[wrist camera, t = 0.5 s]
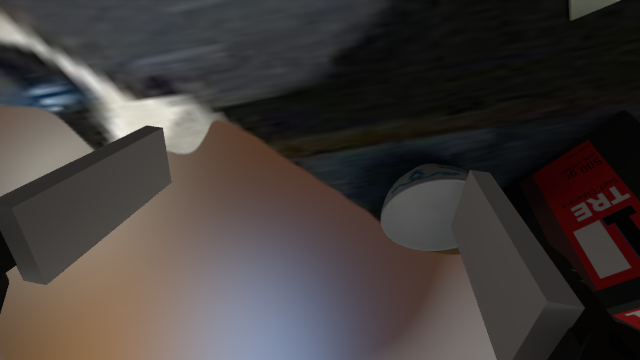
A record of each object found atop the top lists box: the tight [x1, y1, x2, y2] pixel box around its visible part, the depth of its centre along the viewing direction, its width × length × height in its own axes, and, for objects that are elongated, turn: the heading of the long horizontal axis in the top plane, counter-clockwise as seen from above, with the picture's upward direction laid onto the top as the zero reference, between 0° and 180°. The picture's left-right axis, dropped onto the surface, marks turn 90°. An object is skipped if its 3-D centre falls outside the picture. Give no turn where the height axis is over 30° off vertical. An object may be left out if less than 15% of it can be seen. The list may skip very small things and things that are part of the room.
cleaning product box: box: [504, 110, 640, 332], centre depth 38 cm, size 16×9×20 cm, turn 149°
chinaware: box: [381, 164, 469, 251], centre depth 46 cm, size 15×15×8 cm
